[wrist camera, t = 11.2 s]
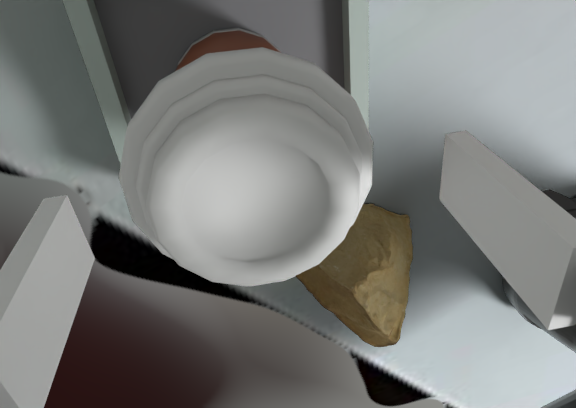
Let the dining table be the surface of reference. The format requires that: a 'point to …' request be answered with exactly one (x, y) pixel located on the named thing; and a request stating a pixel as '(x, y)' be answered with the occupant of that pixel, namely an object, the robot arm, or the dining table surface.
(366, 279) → the rock
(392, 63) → the dining table surface
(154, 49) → the pale green square tray
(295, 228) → the coffee cup
